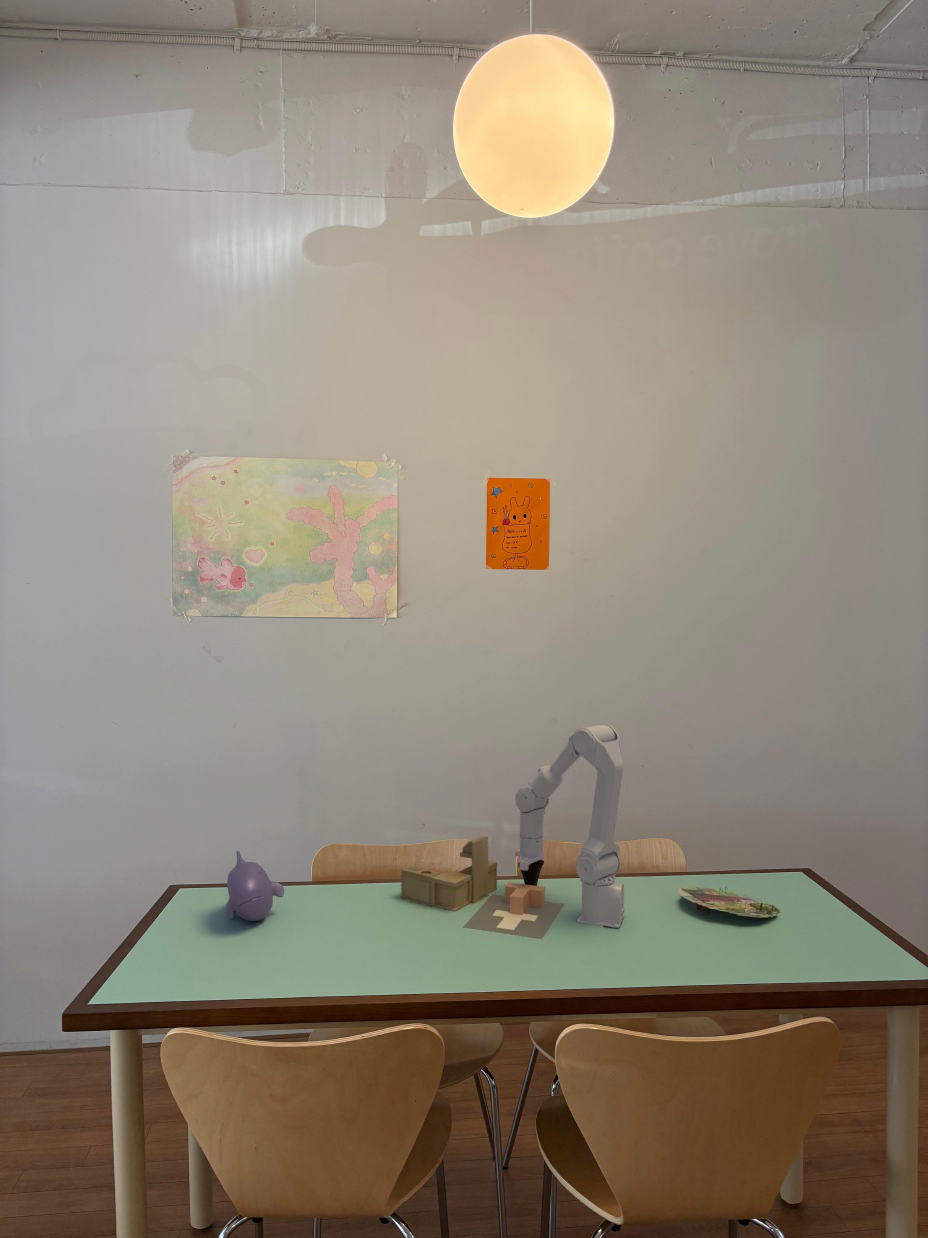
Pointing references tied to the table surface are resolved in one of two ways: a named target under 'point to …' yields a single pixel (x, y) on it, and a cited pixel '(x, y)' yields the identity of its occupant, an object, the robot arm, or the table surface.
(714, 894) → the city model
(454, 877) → the toy kitchen set
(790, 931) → the table surface
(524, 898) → the t block
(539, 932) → the mat
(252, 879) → the toy whale
